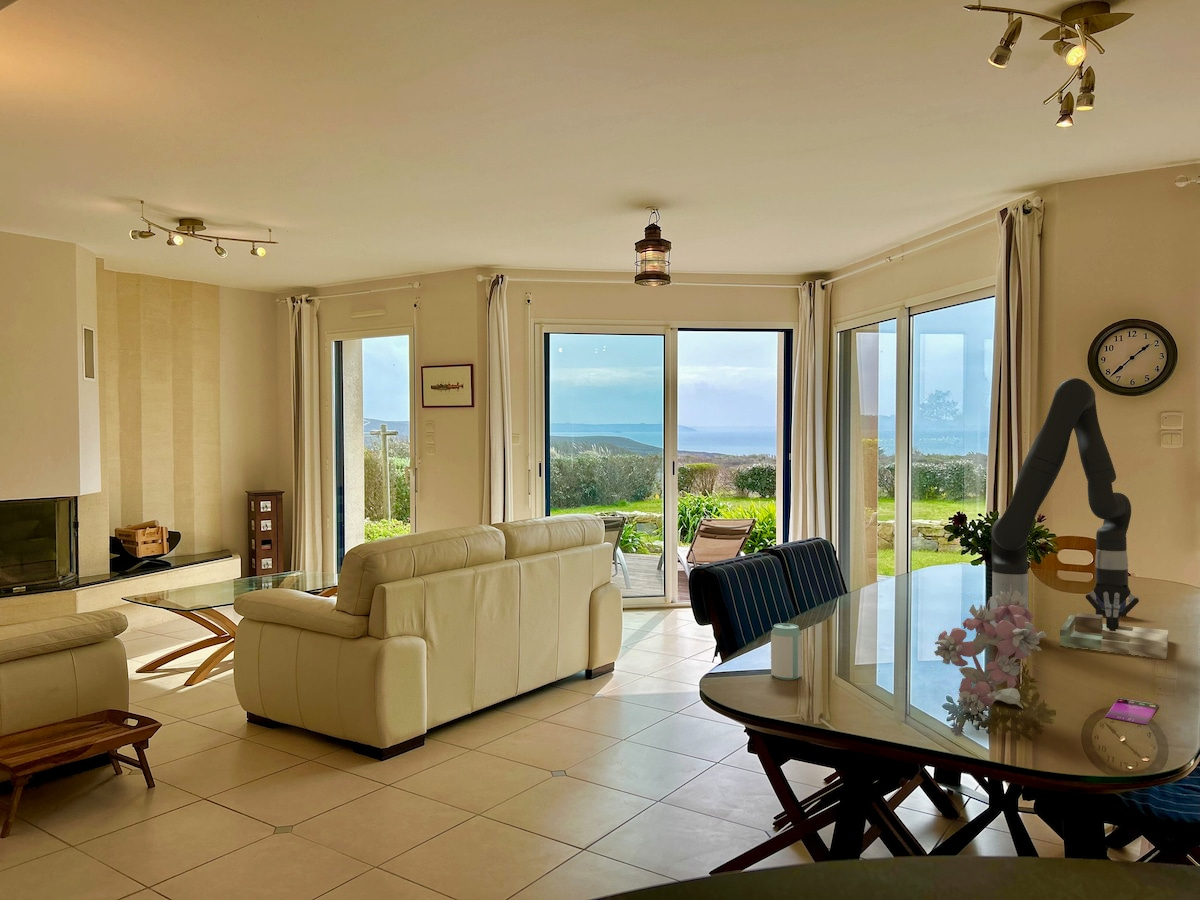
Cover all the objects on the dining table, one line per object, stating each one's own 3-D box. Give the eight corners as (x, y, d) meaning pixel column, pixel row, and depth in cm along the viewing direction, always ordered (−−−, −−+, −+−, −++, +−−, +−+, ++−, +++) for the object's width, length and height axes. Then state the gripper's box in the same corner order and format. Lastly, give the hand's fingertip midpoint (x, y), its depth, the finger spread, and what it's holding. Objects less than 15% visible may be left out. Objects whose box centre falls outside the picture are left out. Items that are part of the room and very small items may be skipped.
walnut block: (1102, 629, 230) (1102, 615, 230) (1100, 633, 225) (1100, 618, 225) (1077, 626, 233) (1077, 612, 233) (1075, 630, 228) (1075, 616, 228)
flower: (906, 679, 188) (917, 589, 176) (1002, 667, 189) (1019, 576, 178) (949, 747, 170) (965, 651, 158) (1055, 733, 171) (1078, 636, 160)
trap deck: (1168, 641, 229) (1168, 624, 228) (1166, 659, 210) (1166, 641, 210) (1070, 630, 242) (1070, 615, 242) (1060, 646, 223) (1060, 629, 223)
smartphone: (1158, 708, 173) (1158, 704, 173) (1146, 727, 161) (1146, 722, 161) (1118, 701, 177) (1118, 697, 177) (1103, 719, 166) (1103, 714, 166)
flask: (1123, 615, 263) (1123, 581, 263) (1129, 617, 260) (1129, 582, 260) (1093, 615, 264) (1093, 581, 264) (1098, 617, 261) (1098, 582, 261)
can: (765, 674, 198) (765, 623, 198) (790, 671, 201) (790, 621, 201) (781, 682, 192) (781, 630, 192) (807, 678, 194) (807, 627, 194)
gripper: (1141, 566, 225) (1142, 630, 225) (1084, 563, 233) (1085, 625, 233) (1139, 570, 219) (1140, 636, 219) (1082, 566, 227) (1083, 630, 227)
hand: (1112, 630), depth 226 cm, fingers closed
